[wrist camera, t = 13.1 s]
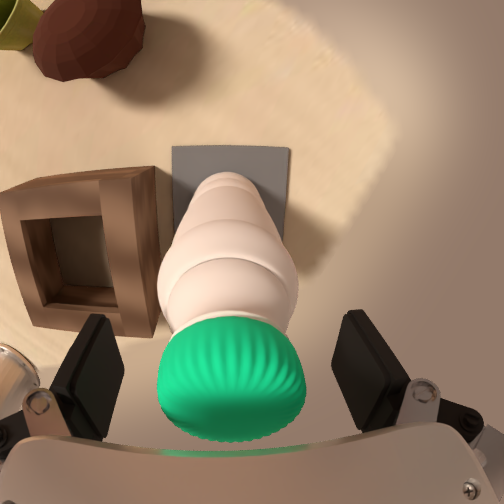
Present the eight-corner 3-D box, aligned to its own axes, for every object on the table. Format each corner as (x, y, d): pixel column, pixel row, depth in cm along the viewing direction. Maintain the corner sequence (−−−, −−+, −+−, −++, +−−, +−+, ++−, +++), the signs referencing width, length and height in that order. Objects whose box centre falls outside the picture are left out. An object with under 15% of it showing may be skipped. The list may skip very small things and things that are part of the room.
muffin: (164, -5, 20) (143, -48, 11) (153, 81, 25) (121, 61, 16) (71, 14, 19) (28, -12, 10) (59, 95, 23) (6, 90, 14)
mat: (280, 252, 34) (281, 254, 33) (176, 252, 33) (176, 254, 32) (287, 147, 29) (288, 147, 28) (172, 146, 28) (171, 146, 27)
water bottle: (249, 162, 29) (341, 290, 6) (267, 224, 32) (350, 436, 9) (184, 182, 29) (68, 355, 6) (205, 242, 32) (178, 468, 9)
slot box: (165, 296, 35) (152, 338, 27) (59, 292, 33) (33, 326, 26) (154, 165, 28) (131, 178, 21) (37, 177, 27) (-3, 193, 20)
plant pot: (26, -2, 16) (-9, -17, 8) (68, 1, 18) (33, -21, 10) (-5, 57, 18) (-45, 52, 11) (32, 66, 21) (-11, 59, 13)
